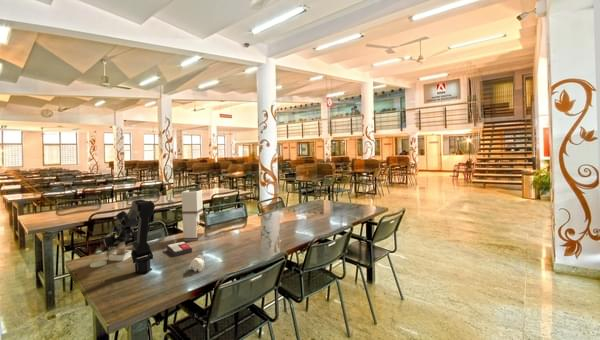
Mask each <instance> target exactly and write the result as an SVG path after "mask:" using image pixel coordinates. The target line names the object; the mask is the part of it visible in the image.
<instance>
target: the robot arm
mask: <svg viewBox="0 0 600 340" xmlns="http://www.w3.org/2000/svg"><path fill="white" fill-rule="evenodd" d="M155 209H156V205H155V202H153V201H152V200H144V199H136V200H132V202H131V206H130V207H129V211H128V213H127V212H126V211H125V210H124V211H123V210H121V211H120V212H119V213H117V214H115V218H116V220H117V224H116V225H113V226H112V228H111V231H112V232H113V233H115V235H116V236H118V237H117V238H116V239H115V237H116V236H115V237H113V236H112V235H108V236H104V237H103V243H104V247H105V248H106V249H107V248H114V249H116V247H117V246H118V245H117V242H120V243H121V242H125V245H126V247H127V246H128V245H130V244H132V248H131V250H132V251H131V260H132V264H134V270H135V272H134V275H135V274H136V275H137V274H138V275H147V274H148V273H149V272H150V271H152V270H153V268H152V266H151V260H153V259H154V255H153V252H152V250H151V246H150V245H149V243H148V234H149V224H150V223H149V222H150V218H151V217H152V216H153V214H154V211H155ZM136 226H137V230H133V229H134V227H136Z"/></svg>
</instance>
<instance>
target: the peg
mask: <svg viewBox="0 0 600 340" xmlns="http://www.w3.org/2000/svg"><path fill="white" fill-rule="evenodd" d="M117 237H118V236H117V235H116V236H115V239H116V238H117ZM117 245H118V246H117V247H116V248H115V252H116V255H124V254H126V250H127V248H126V247H127V246H126V245H125V242H121V243H120V242H117Z"/></svg>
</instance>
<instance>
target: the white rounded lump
mask: <svg viewBox="0 0 600 340" xmlns="http://www.w3.org/2000/svg"><path fill="white" fill-rule="evenodd" d="M205 264H206V262H205V258H204V256H203V255H202V254H198V255H197V256H196V257H195V258H193V259H192V261H190V264H189V265H188V266H187V268H189V270H193V271H194V272H200V273H201V272H202V271H203V270H204V269H205V267H206V266H205Z"/></svg>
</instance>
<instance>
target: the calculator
mask: <svg viewBox="0 0 600 340" xmlns="http://www.w3.org/2000/svg"><path fill="white" fill-rule="evenodd" d="M166 252H168V253H169V254H171V256H172V257H174V258H175V257H178V256H183V255H187V254H191V253H193V248H192V246H190V245H189V244H187V243H186V242H185V241H181V242H177V243H176V242H175V243H171V244H168V245H166Z"/></svg>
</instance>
